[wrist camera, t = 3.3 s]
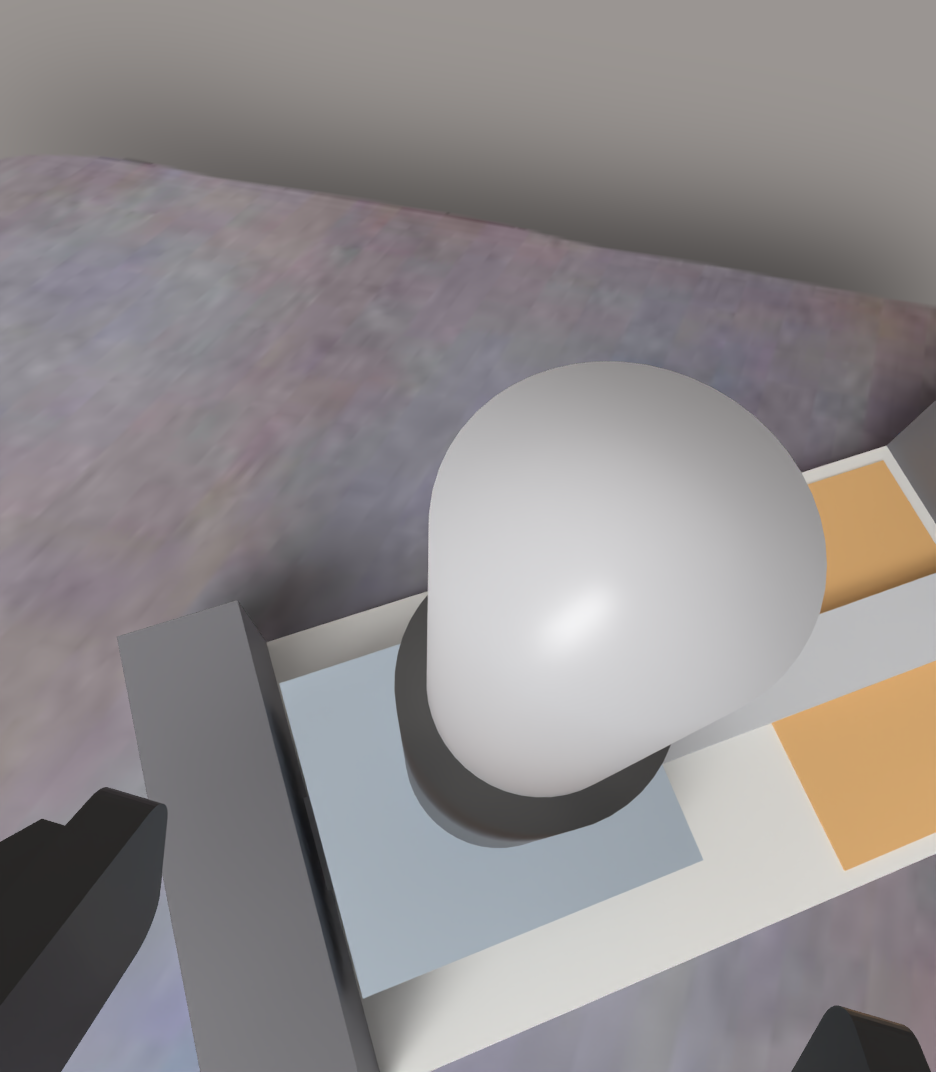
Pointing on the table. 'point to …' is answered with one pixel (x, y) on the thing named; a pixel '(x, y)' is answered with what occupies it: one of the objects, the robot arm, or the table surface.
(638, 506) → the carriage
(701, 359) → the table surface
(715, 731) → the rail base
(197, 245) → the table surface
